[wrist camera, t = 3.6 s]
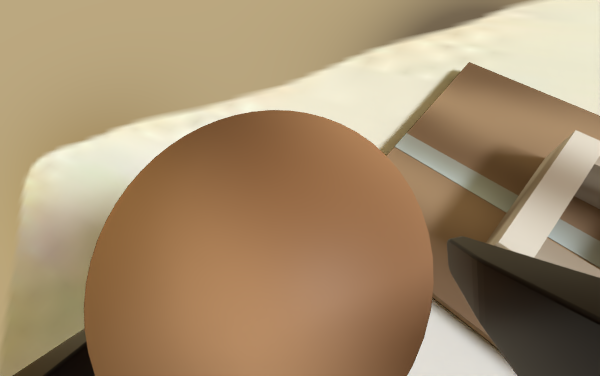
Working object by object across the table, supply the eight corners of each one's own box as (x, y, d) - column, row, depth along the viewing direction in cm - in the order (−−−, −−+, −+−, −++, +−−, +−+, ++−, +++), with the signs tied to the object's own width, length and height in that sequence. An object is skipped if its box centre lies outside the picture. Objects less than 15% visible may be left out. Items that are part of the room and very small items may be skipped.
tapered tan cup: (325, 399, 14) (234, 628, 3) (245, 311, 16) (30, 266, 5) (397, 302, 15) (511, 225, 4) (314, 233, 17) (254, 70, 7)
